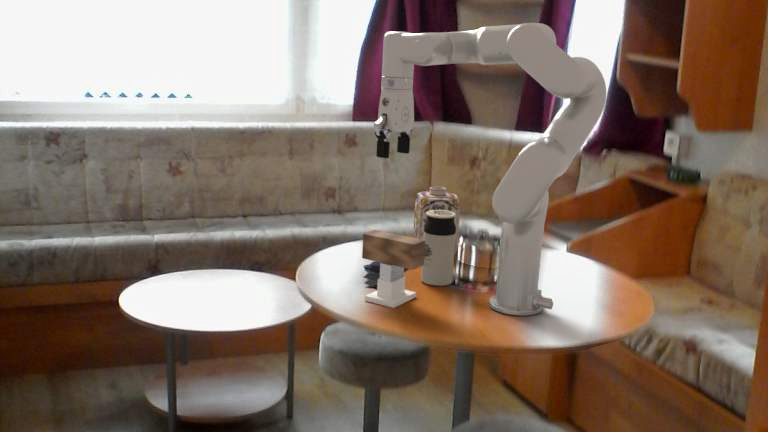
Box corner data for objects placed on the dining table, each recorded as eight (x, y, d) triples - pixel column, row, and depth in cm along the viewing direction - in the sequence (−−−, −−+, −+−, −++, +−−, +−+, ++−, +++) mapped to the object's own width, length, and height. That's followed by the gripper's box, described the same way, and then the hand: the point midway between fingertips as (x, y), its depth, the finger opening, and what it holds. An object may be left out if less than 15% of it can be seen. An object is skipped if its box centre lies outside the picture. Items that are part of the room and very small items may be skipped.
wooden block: (423, 265, 204) (425, 240, 202) (412, 269, 199) (414, 244, 198) (373, 253, 211) (374, 229, 209) (362, 258, 207) (363, 233, 205)
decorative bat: (376, 244, 239) (411, 250, 237) (374, 258, 240) (409, 265, 238) (349, 274, 210) (390, 282, 209) (347, 290, 211) (387, 298, 210)
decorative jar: (416, 253, 247) (420, 191, 243) (411, 242, 258) (415, 182, 254) (458, 254, 248) (462, 192, 244) (451, 243, 260) (455, 184, 255)
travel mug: (446, 276, 227) (450, 209, 223) (456, 286, 219) (461, 216, 215) (416, 277, 225) (420, 209, 221) (426, 287, 217) (430, 217, 213)
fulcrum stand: (415, 297, 209) (417, 260, 207) (393, 307, 201) (395, 269, 199) (387, 290, 213) (389, 254, 211) (364, 300, 205) (366, 263, 203)
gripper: (391, 87, 199) (387, 161, 203) (428, 84, 214) (423, 153, 218) (364, 84, 203) (360, 157, 207) (401, 81, 217) (397, 149, 221)
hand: (393, 155), depth 212 cm, fingers open, 9 cm apart
